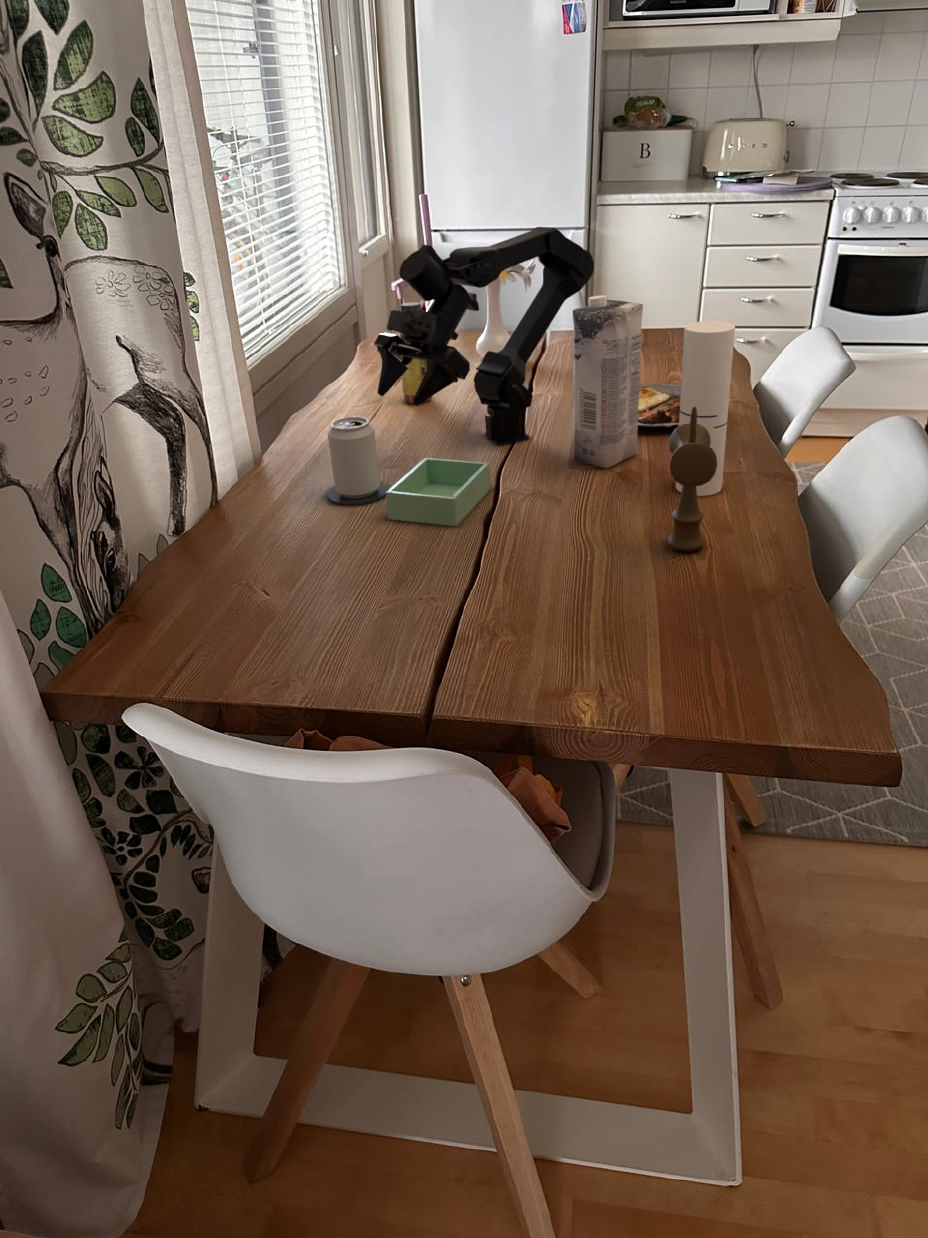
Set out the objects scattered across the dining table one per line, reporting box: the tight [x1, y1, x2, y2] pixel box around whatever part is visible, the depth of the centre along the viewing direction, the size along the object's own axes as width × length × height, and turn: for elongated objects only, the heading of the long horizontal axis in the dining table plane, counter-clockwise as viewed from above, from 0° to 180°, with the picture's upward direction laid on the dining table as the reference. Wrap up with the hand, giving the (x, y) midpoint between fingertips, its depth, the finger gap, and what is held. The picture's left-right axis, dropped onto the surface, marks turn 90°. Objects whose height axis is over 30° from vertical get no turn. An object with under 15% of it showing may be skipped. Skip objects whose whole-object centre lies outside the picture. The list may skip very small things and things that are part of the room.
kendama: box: [667, 406, 717, 552], centre depth 124 cm, size 6×10×20 cm, turn 171°
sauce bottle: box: [398, 301, 433, 404], centre depth 193 cm, size 6×6×20 cm
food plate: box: [638, 383, 681, 430], centre depth 179 cm, size 25×23×4 cm
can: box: [327, 415, 381, 498], centre depth 151 cm, size 8×8×12 cm
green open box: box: [385, 457, 492, 527], centre depth 147 cm, size 15×11×4 cm
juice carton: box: [572, 294, 644, 469], centre depth 154 cm, size 9×10×27 cm
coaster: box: [326, 482, 389, 507], centre depth 154 cm, size 10×10×1 cm
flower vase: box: [475, 258, 537, 358], centre depth 216 cm, size 13×18×25 cm
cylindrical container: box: [675, 320, 736, 497], centre depth 141 cm, size 7×7×25 cm
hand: (396, 399), depth 153 cm, fingers open, 9 cm apart
